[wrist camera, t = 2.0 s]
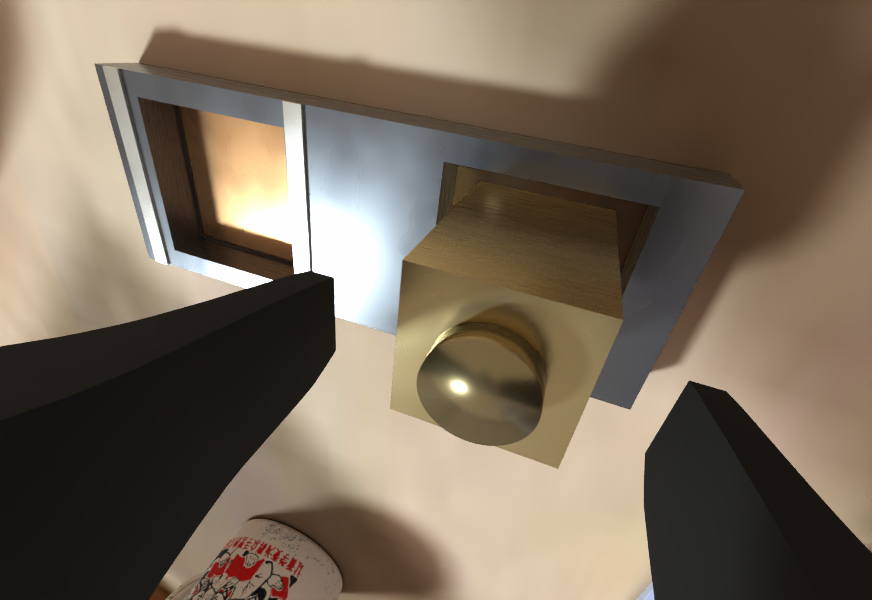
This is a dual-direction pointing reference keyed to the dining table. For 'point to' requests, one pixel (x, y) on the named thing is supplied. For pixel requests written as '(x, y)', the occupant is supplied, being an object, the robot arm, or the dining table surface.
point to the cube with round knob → (508, 319)
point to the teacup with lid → (266, 568)
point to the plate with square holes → (379, 197)
